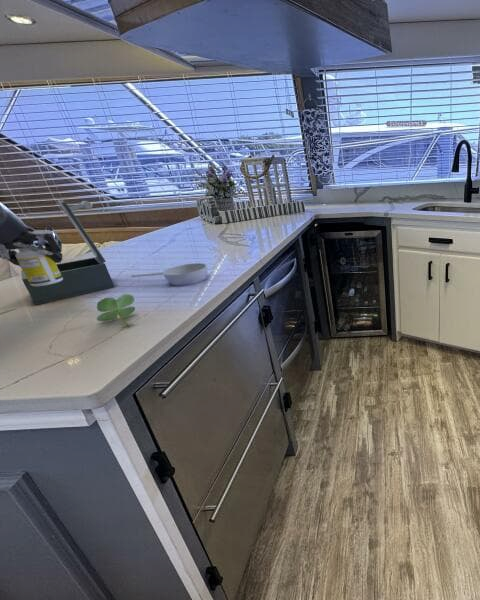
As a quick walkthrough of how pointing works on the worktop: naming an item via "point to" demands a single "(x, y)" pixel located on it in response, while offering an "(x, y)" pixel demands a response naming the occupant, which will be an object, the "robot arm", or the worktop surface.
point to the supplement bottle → (38, 267)
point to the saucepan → (182, 274)
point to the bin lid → (79, 227)
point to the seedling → (115, 308)
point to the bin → (72, 281)
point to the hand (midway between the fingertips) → (41, 261)
